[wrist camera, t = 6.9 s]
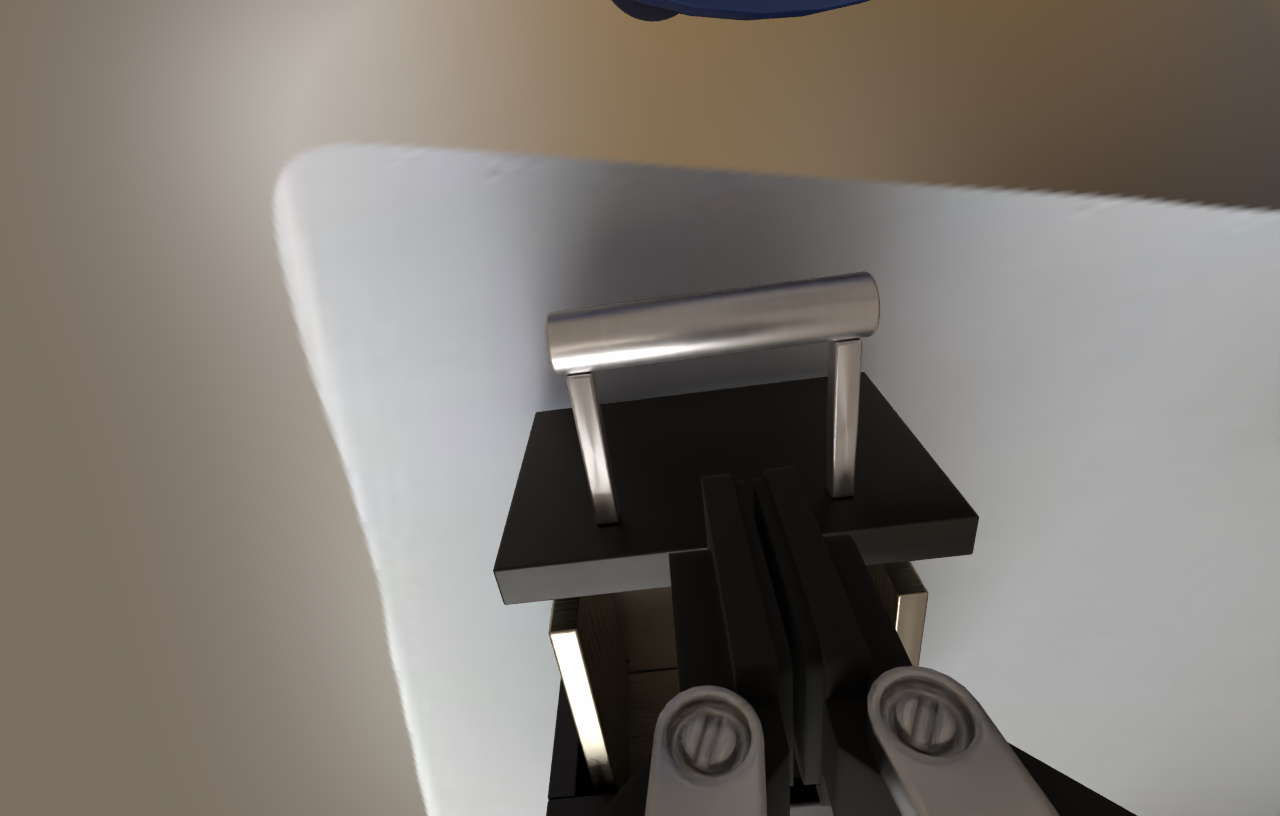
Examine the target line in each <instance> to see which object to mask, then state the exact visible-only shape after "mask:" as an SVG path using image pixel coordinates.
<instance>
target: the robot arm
mask: <svg viewBox="0 0 1280 816" xmlns="http://www.w3.org/2000/svg"><path fill="white" fill-rule="evenodd" d="M701 482H702V493H703V503H704V514H705V524H706V534H707V545H708V549H706V550H696V551H687V552H678V553H669V565H670V578H671V590H672V602H673V615H674V627H675V639H676V652H677V664H678V676H679V689H680V693H679V694H678V695H676V696H675V697H674V698H673V699H672V700H670V701H669V702H668V703H667V704H666V706H665V707H664V709H663V710H662V712H661V713H660V715H659V717H658V721H657V724H656V728H655V731H654V740H653V749H652V754H651V755H650V757H649V758H648V759H647V760H646V761H645V762H644V763H643V764H642V766H641V767H640V768H639V769H638V770H637V771H636V772H635V773H634V775H633V776H632V777H631V778H630V779H629V780H628V781H627V782H626V784H625V785H624V786H623V787H622V788H621V789H620V790H619V792H618V793H617V794H616V795H615V796H614V797H613V798H612V799H611V801H610V802H609V803H608V804H607V805H606V806H605V807H604V808H603V810H602V811H601V812H600V813H599V814H598V815H597V816H790V786H793V746H794V750H795V754H796V758H797V762H798V767H799V771H800V775H801V778H802V781H803V784H804V785H809V784H816V788H817V792H818V795H819V799H820V803H821V807H823V806H831V808H832V812H833V815H834V816H1137V815H1135V814H1133V813H1131V812H1130V811H1128V810H1126V809H1124V808H1123V807H1121V806H1119V805H1117V804H1116V803H1114V802H1112V801H1110V800H1108V799H1107V798H1105V797H1103V796H1101V795H1100V794H1098V793H1096V792H1094V791H1093V790H1091V789H1089V788H1087V787H1086V786H1084V785H1082V784H1080V783H1078V782H1077V781H1075V780H1073V779H1071V778H1070V777H1068V776H1066V775H1064V774H1063V773H1061V772H1059V771H1057V770H1056V769H1054V768H1052V767H1050V766H1048V765H1047V764H1045V763H1043V762H1041V761H1040V760H1038V759H1036V758H1034V757H1033V756H1031V755H1029V754H1027V753H1026V752H1024V751H1022V750H1020V749H1018V748H1017V747H1015V746H1013V745H1011V744H1010V743H1008V742H1007V741H1006V740H1005V738H1004V737H1003V736H1002V734H1001V733H1000V731H999V730H998V729H997V727H996V726H995V724H994V723H993V722H992V720H991V719H990V718H989V716H988V715H987V713H986V712H985V711H984V709H983V708H982V706H981V705H980V704H979V702H978V701H977V700H976V699H975V698H974V697H973V696H972V694H971V693H970V692H969V691H968V690H967V689H966V688H965V687H964V686H962V685H961V684H960V683H958V682H957V681H955V680H954V679H952V678H951V677H949V676H947V675H945V674H943V673H940V672H938V671H935V670H933V669H930V668H924V667H918V666H913V665H912V663H911V661H910V659H909V657H908V655H907V653H906V650H905V648H904V646H903V644H902V642H901V640H900V638H899V635H898V633H897V631H896V629H895V627H894V625H893V623H892V620H891V618H890V616H889V614H888V612H887V610H886V608H885V605H884V603H883V601H882V599H881V597H880V595H879V593H878V590H877V588H876V586H875V584H874V582H873V580H872V578H871V575H870V573H869V571H868V569H867V567H866V565H865V563H864V560H863V558H862V556H861V554H860V552H859V550H858V548H857V545H856V543H855V542H854V540H853V538H852V537H851V536H850V535H849V534H845V535H836V536H826V537H823V536H822V533H821V531H820V528H819V526H818V523H817V521H816V518H815V516H814V513H813V511H812V509H811V506H810V504H809V501H808V499H807V496H806V494H805V491H804V489H803V486H802V484H801V481H800V479H799V476H798V474H797V471H796V469H795V467H793V466H790V467H782V468H773V469H764V470H763V472H762V478H755V479H752V495H753V512H752V508H751V504H750V501H749V497H748V493H747V490H746V486H745V483H744V480H738V481H733V479H732V475H731V473H729V474H720V475H711V476H702V477H701Z"/></svg>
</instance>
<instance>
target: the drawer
mask: <svg viewBox="0 0 1280 816" xmlns="http://www.w3.org/2000/svg"><path fill="white" fill-rule="evenodd" d="M879 318H880V300H879V293H878V289H877V286H876V283H875V280H874V278H873V277H872V275H871V274H870V273H868V272H857V273H850V274H842V275H834V276H826V277H819V278H811V279H803V280H796V281H788V282H780V283H773V284H765V285H757V286H750V287H742V288H734V289H727V290H719V291H711V292H704V293H696V294H688V295H681V296H673V297H665V298H658V299H650V300H642V301H635V302H627V303H619V304H611V305H604V306H596V307H588V308H581V309H573V310H565V311H558V312H550V313H548V314H547V316H546V321H545V335H546V344H547V351H548V356H549V360H550V363H551V366H552V369H553V371H554V373H555V374H556V375H566V374H567V377H566V381H567V385H568V390H569V395H570V400H571V404H572V408H567V409H559V410H551V411H543V412H536V414H535V418H534V421H533V425H532V429H531V432H530V436H529V440H528V443H527V447H526V451H525V454H524V458H523V462H522V466H521V469H520V473H519V477H518V480H517V484H516V488H515V491H514V495H513V499H512V502H511V506H510V510H509V514H508V517H507V521H506V525H505V528H504V532H503V536H502V539H501V543H500V547H499V551H498V554H497V558H496V562H495V565H494V569H493V572H494V575H495V578H496V581H497V584H498V587H499V590H500V593H501V596H502V599H503V602H504V604H505V605H508V604H518V603H527V602H536V601H545V600H553V605H552V612H551V619H550V626H549V636H550V640H551V643H552V647H553V650H554V654H555V657H556V660H557V664H558V667H559V671H560V674H561V678H562V681H563V685H564V688H565V692H566V695H567V698H568V702H569V705H570V709H571V712H572V716H573V719H574V723H575V726H576V730H577V733H578V736H579V740H580V743H581V747H582V750H583V754H584V757H585V761H586V764H587V768H588V771H589V774H590V778H591V781H592V785H593V788H594V792H595V795H603V794H614V793H618V792H619V790H620V789H621V788H622V787H623V786H624V785H625V784H626V782H627V781H628V780H629V779H630V778H631V777H632V776H633V775H634V773H635V772H636V771H637V770H638V769H639V768H640V767H641V766H642V764H643V763H644V762H645V761H646V760H647V759H648V758H649V757H650V755H651V754H652V749H653V740H654V731H655V728H656V724H657V721H658V717H659V715H660V713H661V712H662V710H663V709H664V707H665V706H666V704H667V703H668V702H669V701H670V700H672V699H673V698H674V697H675V696H676V695H678V694H679V693H680V689H679V676H678V664H677V652H676V639H675V627H674V615H673V602H672V590H671V578H670V565H669V553H678V552H687V551H696V550H706V549H708V545H707V534H706V524H705V514H704V503H703V493H702V482H701V477H702V476H711V475H720V474H729V473H731V475H732V479H733V481H738V480H744V483H745V486H746V490H747V493H748V497H749V501H750V504H751V508H752V512H753V495H752V479H755V478H762V472H763V470H764V469H773V468H782V467H790V466H793V467H795V469H796V471H797V474H798V476H799V479H800V481H801V484H802V486H803V489H804V491H805V494H806V496H807V499H808V501H809V504H810V506H811V509H812V511H813V513H814V516H815V518H816V521H817V523H818V526H819V528H820V531H821V533H822V536H823V537H826V536H836V535H845V534H849V535H850V536H851V537H852V538H853V540H854V542H855V543H856V545H857V548H858V550H859V552H860V554H861V556H862V558H863V560H864V563H865V565H866V567H867V569H868V571H869V573H870V575H871V578H872V580H873V582H874V584H875V586H876V588H877V590H878V593H879V595H880V597H881V599H882V601H883V603H884V605H885V608H886V610H887V612H888V614H889V616H890V618H891V620H892V623H893V625H894V627H895V629H896V631H897V633H898V635H899V638H900V640H901V642H902V644H903V646H904V648H905V650H906V653H907V655H908V657H909V659H910V661H911V663H912V665H913V666H918V665H919V658H920V651H921V644H922V636H923V629H924V622H925V614H926V607H927V600H928V591H927V590H926V588H925V586H924V584H923V583H922V581H921V579H920V577H919V576H918V574H917V572H916V571H915V569H914V567H913V565H912V564H911V562H910V561H915V560H924V559H933V558H943V557H952V556H961V555H970V554H972V553H973V548H974V543H975V537H976V531H977V526H978V520H979V516H978V515H977V513H976V512H975V511H974V510H973V508H972V507H971V506H970V505H969V503H968V502H967V501H966V500H965V498H964V497H963V496H962V494H961V493H960V492H959V491H958V489H957V488H956V487H955V486H954V484H953V483H952V482H951V481H950V479H949V478H948V477H947V476H946V474H945V473H944V472H943V471H942V469H941V468H940V467H939V466H938V464H937V463H936V462H935V461H934V459H933V458H932V457H931V456H930V454H929V453H928V452H927V450H926V449H925V448H924V447H923V445H922V444H921V443H920V442H919V440H918V439H917V438H916V437H915V435H914V434H913V433H912V432H911V430H910V429H909V428H908V427H907V425H906V424H905V423H904V422H903V420H902V419H901V418H900V417H899V415H898V414H897V413H896V412H895V410H894V409H893V408H892V406H891V405H890V404H889V403H888V401H887V400H886V399H885V398H884V396H883V395H882V394H881V393H880V391H879V390H878V389H877V388H876V386H875V385H874V384H873V383H872V381H871V380H870V379H869V378H868V376H867V375H866V374H865V373H864V372H861V353H862V341H861V339H860V338H861V337H869V336H871V335H873V334H874V333H875V332H876V330H877V327H878V324H879ZM821 342H829V346H828V377H820V378H811V379H803V380H795V381H787V382H779V383H771V384H763V385H754V386H746V387H738V388H730V389H722V390H714V391H705V392H697V393H689V394H681V395H673V396H665V397H657V398H648V399H640V400H632V401H624V402H616V403H608V404H600V400H599V395H598V389H597V384H596V378H595V373H594V371H598V370H606V369H614V368H622V367H630V366H638V365H646V364H654V363H662V362H670V361H678V360H686V359H693V358H701V357H709V356H717V355H725V354H733V353H741V352H749V351H757V350H765V349H773V348H781V347H789V346H797V345H805V344H813V343H821ZM796 776H801V775H800V771H799V767H798V762H797V758H796V754H795V750H794V746H793V777H796Z"/></svg>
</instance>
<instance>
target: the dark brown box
mask: <svg viewBox="0 0 1280 816" xmlns="http://www.w3.org/2000/svg"><path fill="white" fill-rule="evenodd" d="M616 794H617V793H614V794H603V795H595V792H594V788H593V785H592V781H591V778H590V774H589V771H588V768H587V764H586V761H585V757H584V754H583V750H582V747H581V743H580V740H579V736H578V733H577V730H576V726H575V723H574V719H573V716H572V712H571V709H570V705H569V702H568V698H567V695H566V692H565V688H564V685H563V681H562V678H561V682H560V691H559V701H558V710H557V719H556V728H555V737H554V746H553V755H552V764H551V773H550V782H549V791H548V799H549V801H548V804H547V813H546V816H597V815H598V814H599V813H600V812H601V811H602V810H603V808H604V807H605V806H606V805H607V804H608V803H609V802H610V801H611V799H612V798H613V797H614V796H615V795H616ZM790 816H834V815H833V812H832V808H831V806H823V807H821V803H820V799H819V795H818V792H817V788H816V784H809V785H804V784H803V781H802V778H801V776H796V777H793V786H790Z"/></svg>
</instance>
